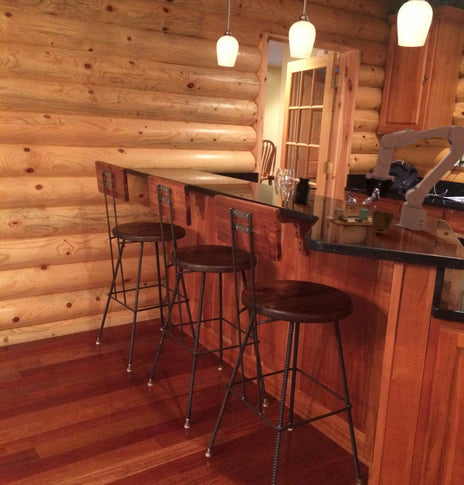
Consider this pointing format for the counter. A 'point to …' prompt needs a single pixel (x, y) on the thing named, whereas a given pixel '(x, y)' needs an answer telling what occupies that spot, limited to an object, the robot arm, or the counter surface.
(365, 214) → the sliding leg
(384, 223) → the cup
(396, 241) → the counter surface
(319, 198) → the counter surface
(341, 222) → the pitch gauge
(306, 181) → the supplement bottle
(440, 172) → the robot arm
